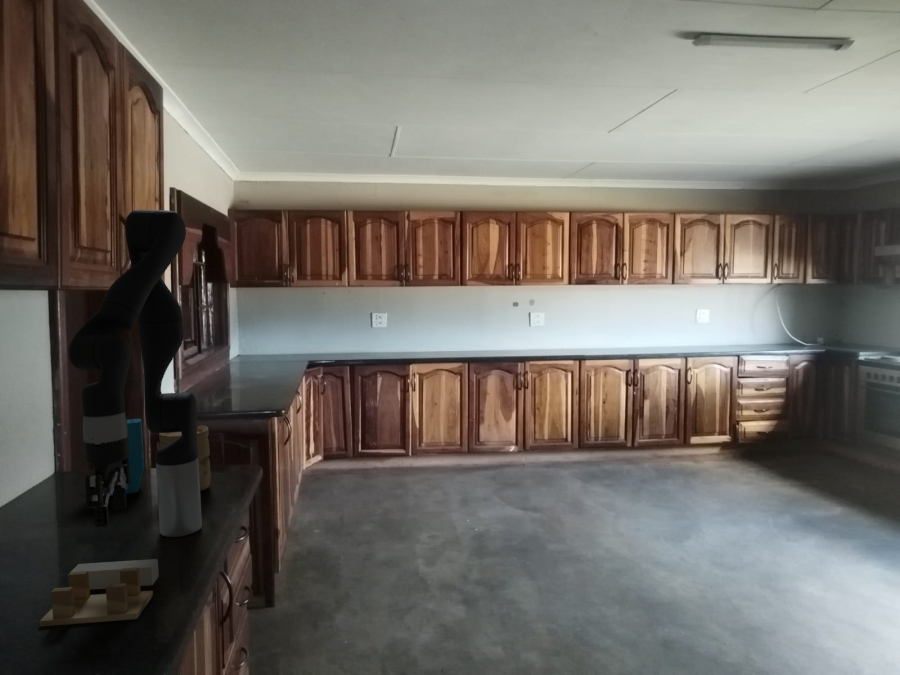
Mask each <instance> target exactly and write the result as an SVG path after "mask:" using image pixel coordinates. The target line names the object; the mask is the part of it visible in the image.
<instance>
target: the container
mask: <svg viewBox="0 0 900 675" xmlns="http://www.w3.org/2000/svg"><path fill="white" fill-rule="evenodd" d="M209 431H210V430H209V427H208V426H206V425H197V446H198V465H199V481H200V492H202V491H205V490H207V489H208V488H209V486H210V484H211V479H212V473H211V462H210V459H209V456H210V453H211V452H210V441H209ZM181 435H182V433H181V432H170V433H158V436H159V437H158V438H159V442H160V443H159V448H161V447H162V446H165V445H167V444H170V443H172V442H174V441H176V440H178V439H179V438H180V437H181Z"/></svg>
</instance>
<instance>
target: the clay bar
mask: <svg viewBox="0 0 900 675" xmlns="http://www.w3.org/2000/svg"><path fill="white" fill-rule="evenodd" d="M158 562H159V560H158V558H154V559H153V558H151V559H137V560H135V559H133V560H122V561H106V562H105V561H104V562H103V561H102V562H88V563H78V564H77V565H76V566H75V567H73V569H72V570H71V571H70V572H77V571H88V574H89V587H90V591H91V590H104V589H105V590H106V587H107V586H108V585H109V584H121V583H120V570H121V569H122V568H135V567H139V573H140V587H147V586H148V587H149V586H153V585H154V584H155V582H156V581H157V580H158V579H159V578H160V577H159V576H160V574H159V563H158Z"/></svg>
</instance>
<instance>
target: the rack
mask: <svg viewBox="0 0 900 675" xmlns="http://www.w3.org/2000/svg"><path fill="white" fill-rule="evenodd" d="M67 578H68V582H67V583H68V587H54V588H53V589H52V590H51V591H50V596H51V608H50V609H49V611H48V612H47V613H46V614H45V615H44V616H43V617H42V618H41V619H40V620H39V627H51V626H62V625H63V626H64V625H76V624H79V625H80V624H89V623H101V622H102V623H103V622H104V623H105V622H115V621H117V622H118V621H127V620H130V621H131V620H138V619H139V617H140V615H141V614H142V612H143V611H144V610H145V608H146V606H147V605H148V604H149V602H150V601H151V599H152V598H153V596H154V590H143V591H141V590H142V589H141V586H140V573H139V567H135V568H122V569H121V570H120V583H121V584H109V585H108V586H107V587H106V589H105V593H100V594H91V590H90V587H89V574H88V571H77V572H71V571H69V573H68V574H67Z"/></svg>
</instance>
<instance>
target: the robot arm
mask: <svg viewBox="0 0 900 675" xmlns="http://www.w3.org/2000/svg"><path fill="white" fill-rule="evenodd" d="M124 230H125V240H126V247H127V251H128V256H129V261H130V265H131V266H130V268H129V269H127V270H126V271H125V272H123V273H122V274H121V275H119V277H118V278H116V280H115V281H113V283H112V284H111V285H110V287H109V288H108V290H107V292H106V294H105V296H104V298H103V299H102V301H101V304H100V306H99V307H98V310H96V312H95V313H94V314H93V315H92V316H91V317H90V318H89V319H88V320H87V322H86V323H84V325H83V326H82V327H81V328H80V329H79V330H78V331H77V332H76V333H75V335H74V336H73V338H72V339H71V342H70V343H69V347H68V358H69V361H70V363H71V365H72V366H73V367H74V368H76V369H77V370H82V371H101V373H100V376H99V377H100V378H99V380H98V381H96V382H93V383H90V384H87V385H84V387H83V388H82V391H81V392H82V393H81V401H82V403H81V404H82V415H83V420H82V421H83V422H82V436H83V437H82V438H83V447H84V448H83V449H84V462H85V464H87V465H91V466H93V467H94V471H93V475H86V476H85V500H86V503H85V504H86V508H87V509H93V516H94V526H95V527H97V528H101V527H102V528H103V527H104V528H105V527H107V526H108V525H109V524H110V516H109V506H108V504H109V500H110V497H111V496H110V495H112V494H113V496H112V497H113V498H112V500H113V509H114V510H115V511H123V510H125V509H126V508H127V494H126V491H125V490H127V484H130V482H131V479H130V469H129V458H128V457H129V442H128V427H127V420H128V419H127V415H126V406H125V405H126V404H125V393H124V391H125V388H126V387H125V386H126V382H127V378H128V372H129V368H130V365H131V359H132V349H131V345H130V343H129V341H128V340H127V339H126V338H125V337H124V336H123V335H121V334H124V333H129V332H130V331H131V330H133V328H134V327H135V325H136V324H137V325H138V326H137V327H138V333H139V340H140V350H141V357H142V359H141V360H142V367H143V368H142V370H143V385H144V386H143V387H144V389H143V390H144V416H145V423H146V424H145V425H146V427H147V429H148V431H149V432H150V433H152V434H159V433H170V432H181V433H182V435H181V437H180V438H179V439H178V440H176V441H174V442H172V443H170V444H167V445H165V446H162V447H161V448H160V447H159V448H158V449H156V451H155V454H154V457H155V458H154V459H155V460H154V461H155V468H156V469H155V472H156V484H157V485H156V486H157V487H156V488H157V502H158V504H157V505H158V517H159V518H158V519H159V520H158V522H159V532H160V535H161V536H163V537H168V538H178V537H179V538H180V537H184V536H189V535H191V534H194V533H196V532H198V531H199V530H201V529H202V527H203V521H202V520H203V519H202V505H201V504H202V502H201V501H202V500H201V491H200V481H199V465H198V446H197V427H198V405H197V400H196V397H195V395H194V394H193V393H192V392H189V391H188V392H187V391H186V392H185V391H184V392H166V393H162V382H163V379H164V376H165V374H166V371H167V370H168V368H169V366H170V365H171V363H172V361H173V359H174V358H175V356H176V355H177V353H178V351H179V350H180V348H181V346H182V344H183V342H184V339H185V331H184V317H183V310H182V307H181V306H180V303H179V302H178V300H177V298H176V297H175V295H174V294H173V292H172V291H171V290H170V289H169V287H168V286H167V285H166V283H165V281H164V280H163V279H162V277H163V275H164V274H165V273H166V270H167V269H168V268H169V266H170V265H171V264H172V262H173V261H174V259H175V258H176V256H177V255H178V253H179V252H180V251H181V249H182V247H183V245H184V243H185V240H186V236H187V229H186V223H185V220H184V219H183V217H182V216H181V215H180V213H178V212H176V211H174V210H168V209H167V210H166V209H163V210H162V209H135V210H132V211H131V212H129V213H128V215H127V217H126V218H125V229H124ZM113 491H114V492H113Z"/></svg>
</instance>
